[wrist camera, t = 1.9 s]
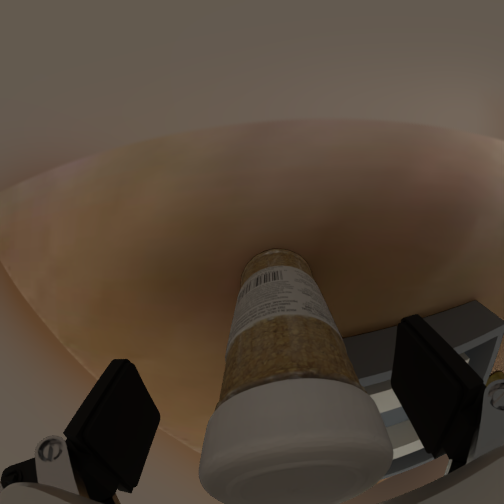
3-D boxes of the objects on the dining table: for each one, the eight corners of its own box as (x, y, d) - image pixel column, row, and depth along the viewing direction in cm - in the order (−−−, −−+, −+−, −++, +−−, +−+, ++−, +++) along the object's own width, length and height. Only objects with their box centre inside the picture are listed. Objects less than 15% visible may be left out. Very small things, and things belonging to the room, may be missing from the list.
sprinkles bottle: (253, 320, 18) (235, 522, 5) (231, 257, 17) (155, 454, 4) (320, 302, 17) (390, 494, 4) (303, 236, 16) (409, 411, 3)
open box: (475, 300, 17) (506, 323, 13) (437, 426, 21) (450, 451, 17) (276, 350, 18) (278, 393, 14) (295, 465, 23) (298, 497, 18)
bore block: (451, 339, 17) (469, 358, 14) (425, 424, 20) (434, 442, 17) (319, 377, 18) (325, 405, 15) (321, 454, 21) (324, 477, 18)
